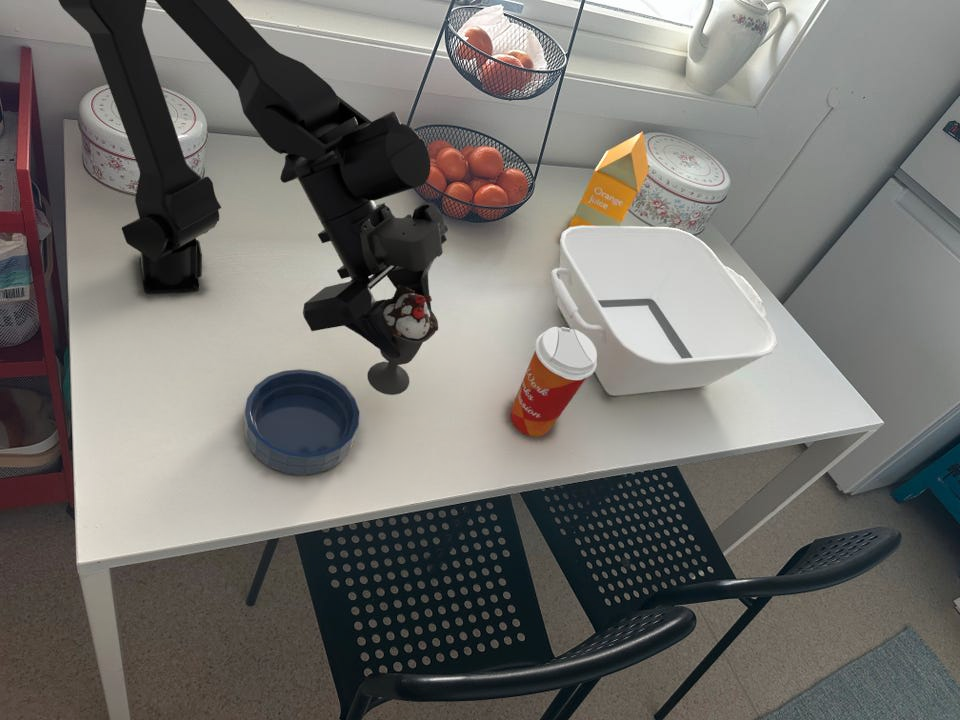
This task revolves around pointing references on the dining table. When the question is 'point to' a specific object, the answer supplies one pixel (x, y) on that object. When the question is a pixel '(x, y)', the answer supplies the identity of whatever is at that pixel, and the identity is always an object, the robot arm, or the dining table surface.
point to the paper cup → (552, 379)
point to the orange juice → (613, 185)
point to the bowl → (300, 421)
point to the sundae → (403, 338)
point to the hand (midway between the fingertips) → (413, 341)
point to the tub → (657, 308)
